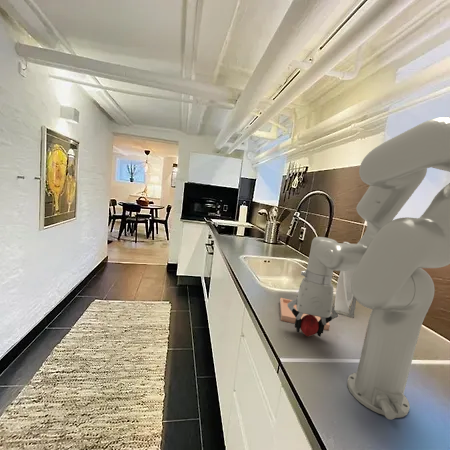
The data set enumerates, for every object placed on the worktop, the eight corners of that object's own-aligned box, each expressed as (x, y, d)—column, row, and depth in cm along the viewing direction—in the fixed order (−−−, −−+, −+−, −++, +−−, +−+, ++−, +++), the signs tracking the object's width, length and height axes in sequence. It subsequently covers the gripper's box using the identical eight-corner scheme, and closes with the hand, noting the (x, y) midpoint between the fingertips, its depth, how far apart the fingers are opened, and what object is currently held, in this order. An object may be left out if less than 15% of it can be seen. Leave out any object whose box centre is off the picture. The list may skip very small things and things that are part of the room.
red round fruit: (317, 343, 81) (322, 318, 80) (298, 338, 82) (303, 314, 81) (315, 333, 87) (319, 310, 86) (297, 329, 88) (301, 306, 87)
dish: (328, 330, 90) (329, 325, 90) (280, 320, 93) (281, 315, 93) (320, 310, 106) (321, 305, 106) (279, 302, 108) (280, 297, 108)
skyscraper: (330, 311, 106) (344, 243, 102) (330, 304, 114) (343, 240, 110) (353, 317, 103) (369, 247, 100) (351, 309, 111) (365, 244, 107)
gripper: (290, 276, 80) (280, 332, 82) (351, 287, 77) (339, 344, 80) (289, 269, 87) (280, 321, 90) (344, 279, 84) (333, 332, 87)
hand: (308, 331), depth 85 cm, fingers closed on red round fruit, 5 cm apart
